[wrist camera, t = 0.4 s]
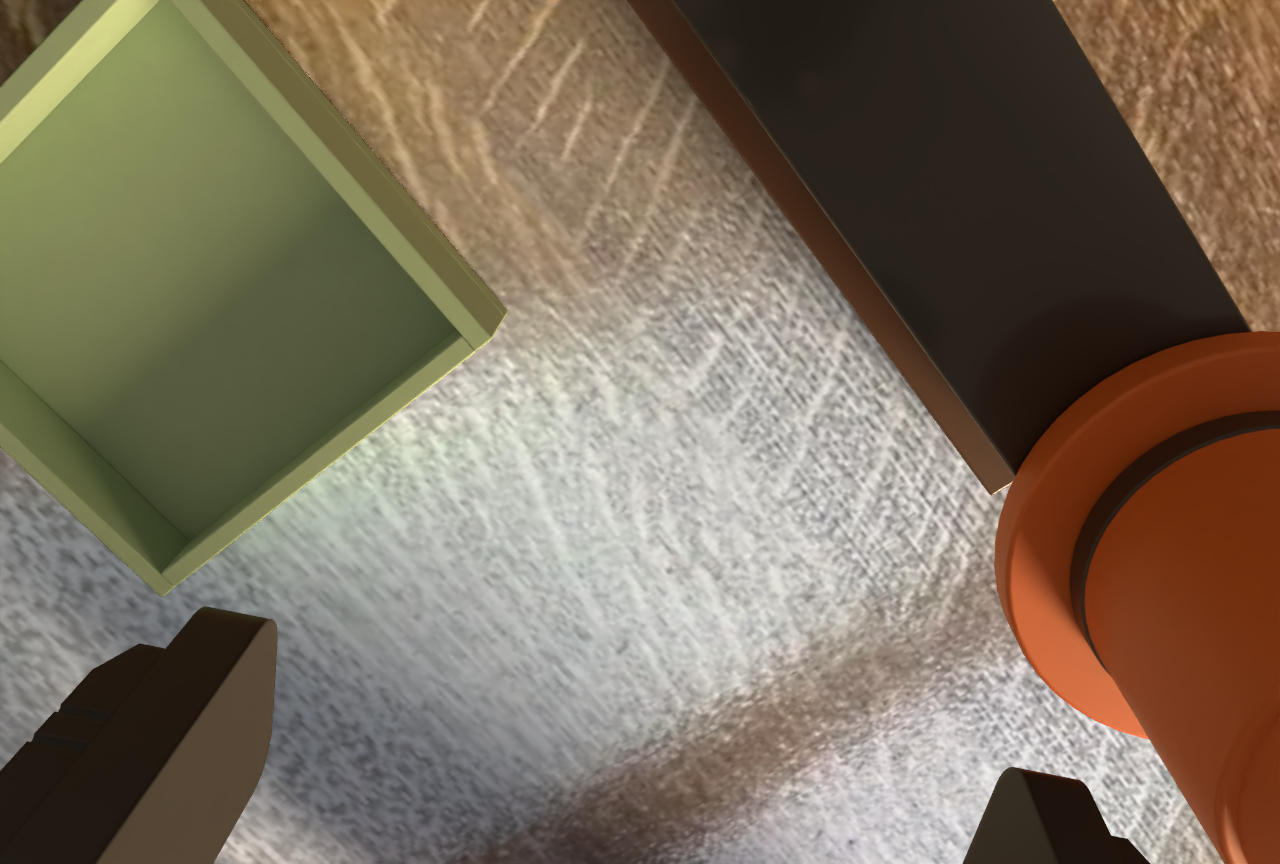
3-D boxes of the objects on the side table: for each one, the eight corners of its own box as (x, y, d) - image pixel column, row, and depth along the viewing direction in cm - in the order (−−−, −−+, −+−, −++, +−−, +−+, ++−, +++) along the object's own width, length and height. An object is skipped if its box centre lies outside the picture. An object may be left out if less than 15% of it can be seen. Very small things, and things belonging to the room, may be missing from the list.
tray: (193, -60, 26) (142, -67, 24) (509, 311, 29) (492, 339, 27) (-112, 256, 30) (-182, 278, 27) (199, 555, 33) (161, 598, 31)
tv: (772, -266, 24) (843, -537, 12) (1154, 332, 29) (1478, 570, 17) (572, -85, 26) (457, -161, 14) (965, 452, 30) (1137, 746, 18)
